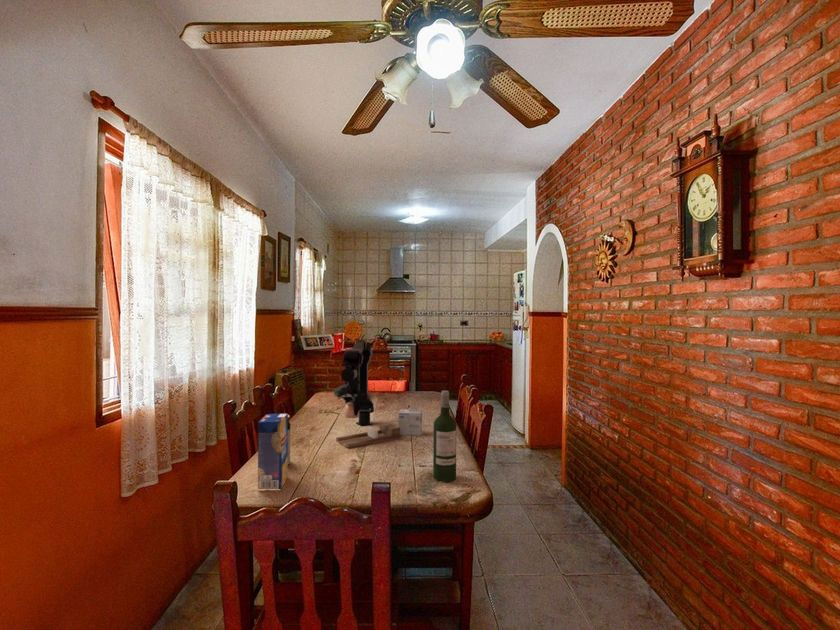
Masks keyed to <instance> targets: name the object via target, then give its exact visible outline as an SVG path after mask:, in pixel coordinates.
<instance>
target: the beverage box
mask: <svg viewBox="0 0 840 630" xmlns="http://www.w3.org/2000/svg"><path fill="white" fill-rule="evenodd" d="M288 415H289V414H288V413H267V414H265V415H264V416H263V417H262V418H261V419H260V420H259V421H258V422H257V427H258V429H257V446H258V447H257V450H258V451H257V456H258V457H257V490H258V489H281V490H282V488H283V486H284V485H283V483H284V481H285V480H286V481H287V479H288V466H289V465H288ZM286 478H287V479H286ZM286 481H285V482H286ZM284 484H285V483H284ZM282 485H283V486H282ZM281 487H282V488H281Z"/></svg>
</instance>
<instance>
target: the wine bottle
mask: <svg viewBox="0 0 840 630" xmlns="http://www.w3.org/2000/svg"><path fill="white" fill-rule="evenodd" d="M440 396H441V397H440V398H441V399H440V400H441V401H440V414H439V415H438V416H437V417H436V418H435V420H434V422H433V443H432V444H433V454H432V457H433V458H432V459H433V461H432V463H433V464H432V465H433V466H432V467H433V468H432V470H433V472H432V476H433V480H435V479H436V480H438V481H437V482H439V481H444V482H443V483H449V482H448V481H451V482H453V480H454V481H455V480H456V479H457V422H456V419H455V418H454V417H452V415H451V414H450V392H449V390H441V392H440ZM436 480H435V481H436Z"/></svg>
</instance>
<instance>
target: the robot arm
mask: <svg viewBox="0 0 840 630" xmlns="http://www.w3.org/2000/svg"><path fill="white" fill-rule="evenodd" d="M372 356H373V347H372V345H371V344H370V343H368V342H367V340H363V339H357V340H355V343H354V345H353V346H352V348H349V349H346V350H345V352H344V354H343V359H342V363H341V364H342V365H341V366H342V367H345V369H343V370H342V371H341V374H340V377H341V380H342V381H343V384H342V385H339V386H338V387H335V388H333V393H334V396H335V397H336V398H338V399H339V398H341V399H342V400H343V401H344V402H345V405H346V404H347V402H352V403H353V408H354V415H355V416H357V414H358V412H359V417H358V421H356V422H355V424H356V425H359V426H361V427H363V426H371V425H373V422H371V414H372V413H374V412H375V406H374V403H373V400H372V396H371V395H370V392H369V362H370V361H371V359H372Z"/></svg>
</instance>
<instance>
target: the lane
mask: <svg viewBox="0 0 840 630" xmlns="http://www.w3.org/2000/svg"><path fill="white" fill-rule="evenodd" d="M377 430H378V437H377V438H372V437H370V436H368V431H366V432H360V433H354V434H348V435H343V436H339V437H336V439H335V440H336V441H335V442H336V443H337V442H338V443H337V444H339V445H341V446H342V447H344V448H346V449H347V448H349V449H353V447H354V448H357V447H358V446H359V447H363V445H364V446H368V445H369V446H370V445H374V444H377V443H382V442H388V441H394V440H399V439H401V435H400V428H399V427H398V426H397V425H394V424H391V423H389V422H384V423H379V429H377Z"/></svg>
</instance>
